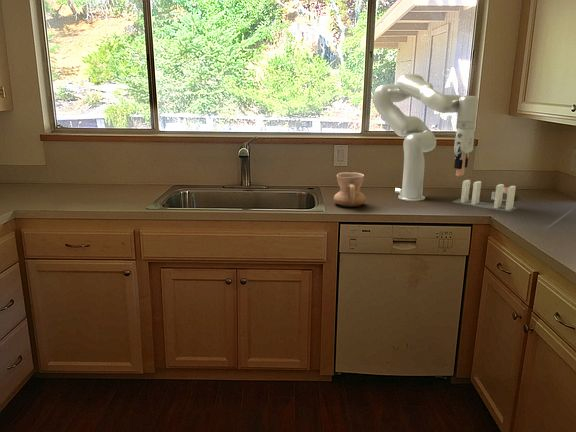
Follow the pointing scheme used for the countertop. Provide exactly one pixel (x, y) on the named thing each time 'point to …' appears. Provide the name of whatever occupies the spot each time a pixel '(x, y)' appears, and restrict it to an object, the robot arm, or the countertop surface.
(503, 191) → the packaged product
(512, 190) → the domino
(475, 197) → the domino
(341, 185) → the ceramic jug
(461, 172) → the domino
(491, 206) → the mat
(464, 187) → the domino
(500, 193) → the domino
